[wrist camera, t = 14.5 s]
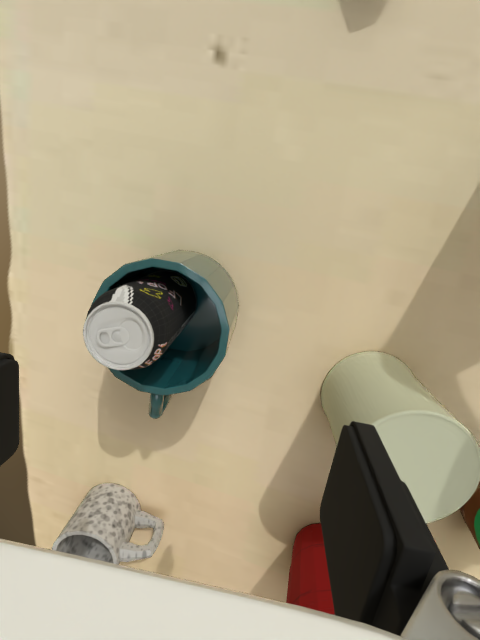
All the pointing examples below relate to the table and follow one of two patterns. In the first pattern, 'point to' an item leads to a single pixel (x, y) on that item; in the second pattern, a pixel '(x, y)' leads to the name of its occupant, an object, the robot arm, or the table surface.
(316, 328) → the table surface
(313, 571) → the plastic cup
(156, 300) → the beverage can
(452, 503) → the can
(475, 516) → the food container
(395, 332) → the table surface
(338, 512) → the robot arm
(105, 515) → the mug
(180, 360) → the mug
